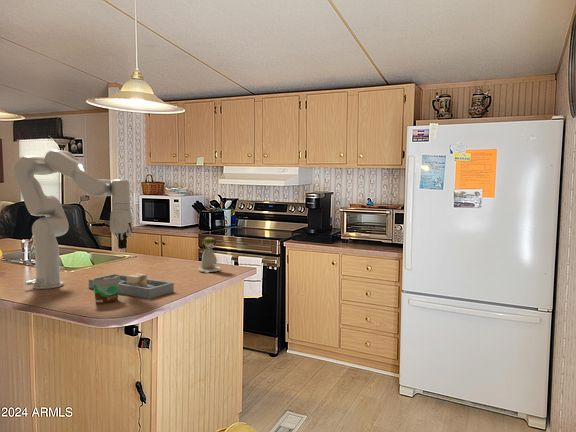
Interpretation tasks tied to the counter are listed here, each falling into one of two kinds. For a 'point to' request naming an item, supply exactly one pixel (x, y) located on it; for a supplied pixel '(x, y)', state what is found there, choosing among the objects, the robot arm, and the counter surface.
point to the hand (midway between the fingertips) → (122, 248)
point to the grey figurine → (209, 256)
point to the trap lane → (149, 291)
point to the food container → (106, 289)
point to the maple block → (137, 280)
